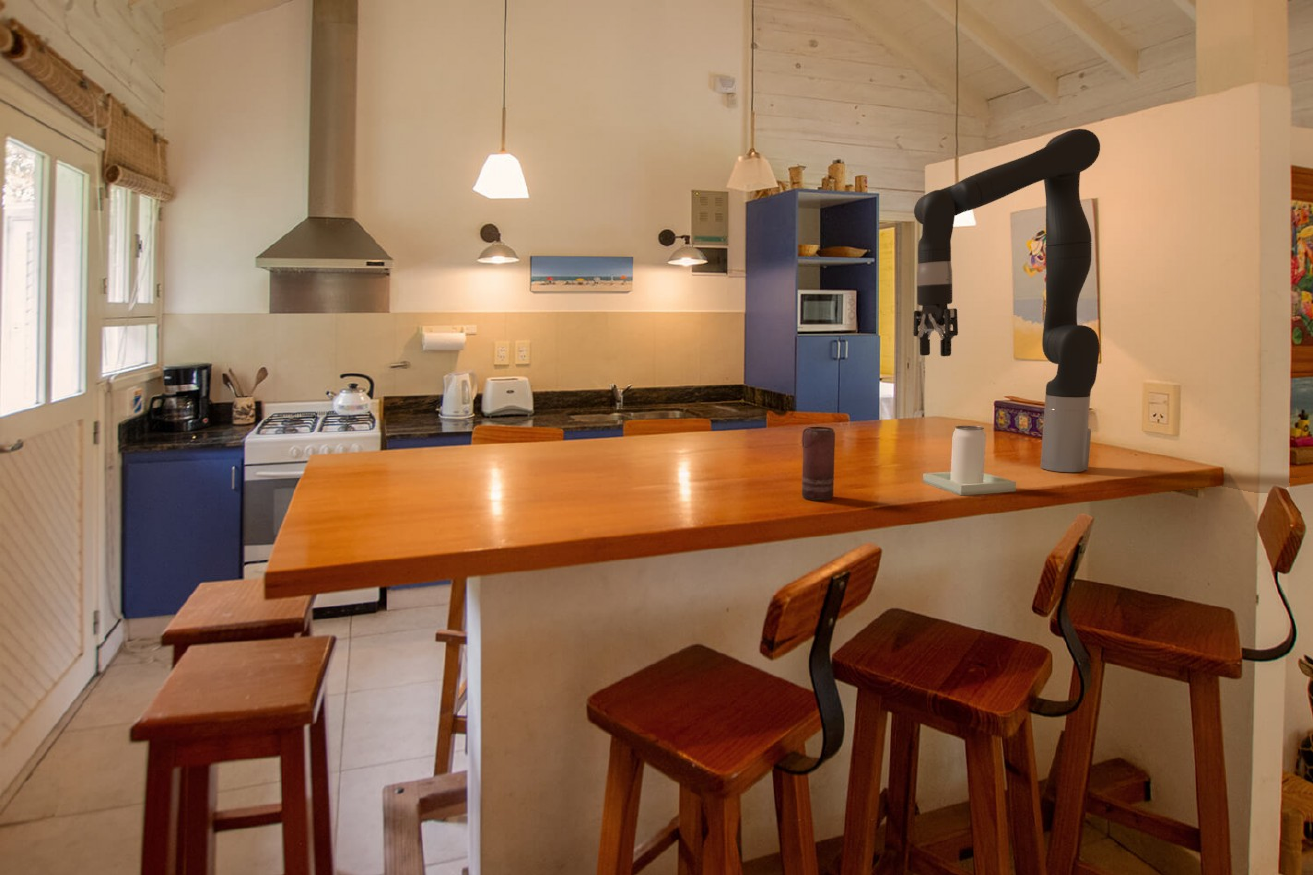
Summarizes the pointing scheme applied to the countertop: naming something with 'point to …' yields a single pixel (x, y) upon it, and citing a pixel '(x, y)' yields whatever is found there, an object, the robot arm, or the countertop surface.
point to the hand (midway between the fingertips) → (935, 355)
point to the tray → (988, 486)
